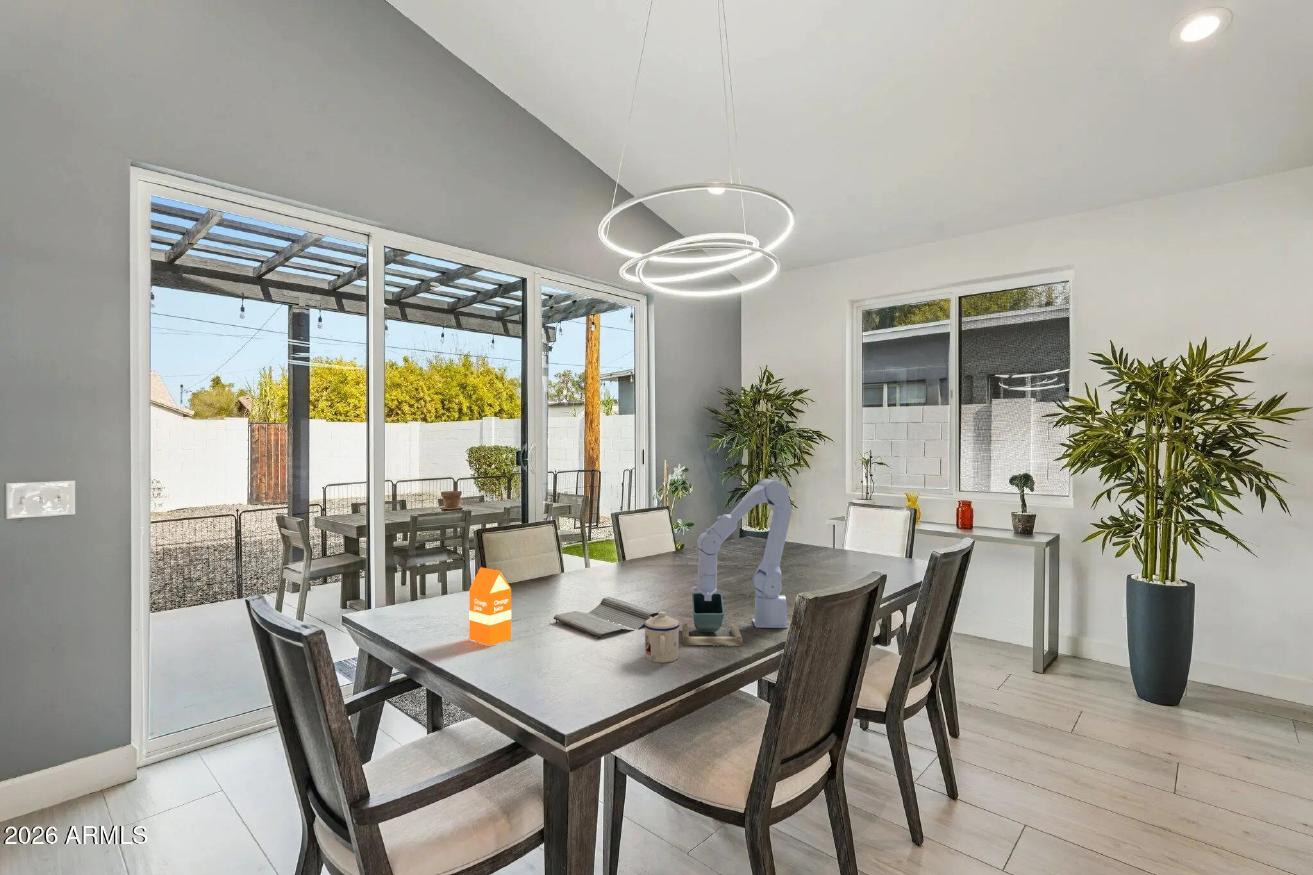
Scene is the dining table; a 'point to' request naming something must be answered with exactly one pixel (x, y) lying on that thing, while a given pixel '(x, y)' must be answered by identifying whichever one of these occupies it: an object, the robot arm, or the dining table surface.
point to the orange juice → (489, 608)
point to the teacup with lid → (661, 638)
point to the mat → (607, 617)
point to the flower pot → (707, 612)
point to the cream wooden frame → (713, 638)
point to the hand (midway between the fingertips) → (705, 618)
